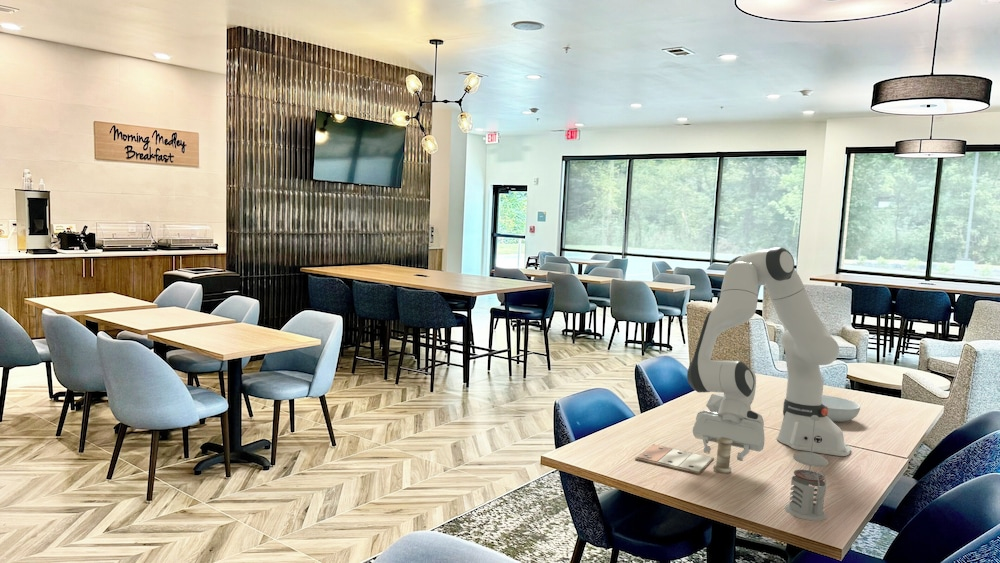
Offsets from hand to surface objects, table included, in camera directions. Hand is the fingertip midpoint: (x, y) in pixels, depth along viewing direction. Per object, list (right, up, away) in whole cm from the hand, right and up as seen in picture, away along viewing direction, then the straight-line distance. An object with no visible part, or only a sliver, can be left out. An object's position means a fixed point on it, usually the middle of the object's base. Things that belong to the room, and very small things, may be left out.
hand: (722, 456), depth 199 cm
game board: (-12, -3, +8) cm, 15 cm away
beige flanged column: (0, -4, +1) cm, 5 cm away
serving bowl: (+63, -3, +67) cm, 92 cm away
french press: (+12, -8, -27) cm, 31 cm away
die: (+19, 0, +63) cm, 66 cm away
